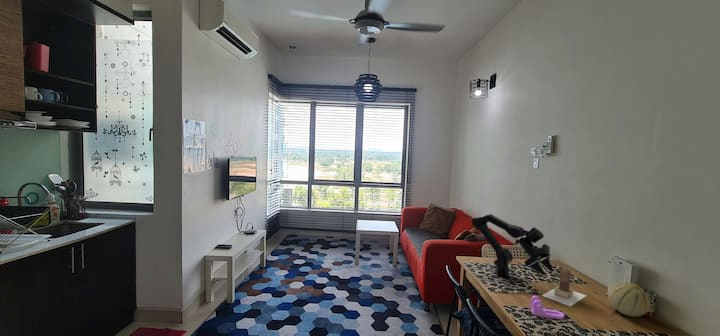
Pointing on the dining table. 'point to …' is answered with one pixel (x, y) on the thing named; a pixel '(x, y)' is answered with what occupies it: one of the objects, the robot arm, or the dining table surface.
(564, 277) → the brown piece
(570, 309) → the dining table surface
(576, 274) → the dining table surface
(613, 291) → the cantaloupe
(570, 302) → the board
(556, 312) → the bracket
